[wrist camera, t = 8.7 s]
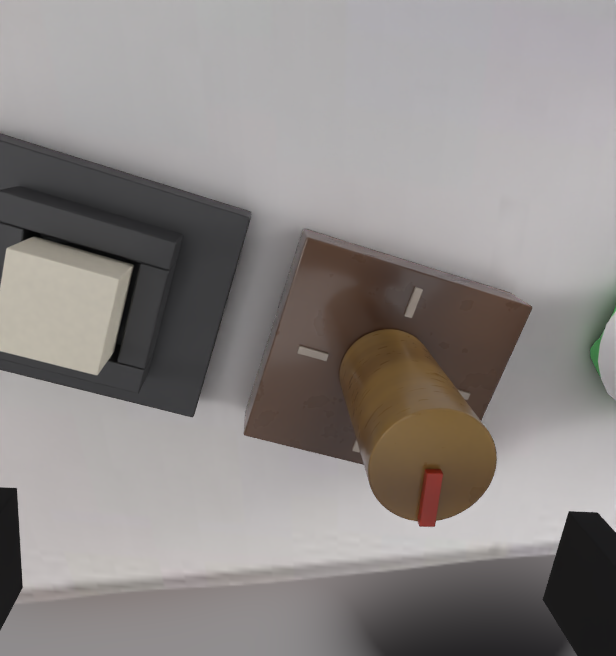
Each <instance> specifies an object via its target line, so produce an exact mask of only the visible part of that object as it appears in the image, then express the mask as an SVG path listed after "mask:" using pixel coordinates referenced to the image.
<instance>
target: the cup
mask: <svg viewBox="0 0 616 656" xmlns="http://www.w3.org/2000/svg"><path fill="white" fill-rule="evenodd" d="M590 358H591V360H592V362H593V364H594V366H595V368H596V370H597V372H598V374H599V376H600V378H601V380H602V382H603V384H604V386H605V388H606V391H607V393H608V394H609V395H610V396H611V397H612V398H614V399H615V400H616V307H615V309H614V312H613V314H612V316H611V318H610V320H609V321H608V323H607V324H606V327H605V330H604V331H603V333H602V335H601V336H600V338H599V339H598V340H596V342H595V343H594V344H593V346H592V347H591V348H590Z"/></svg>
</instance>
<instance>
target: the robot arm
mask: <svg viewBox="0 0 616 656" xmlns="http://www.w3.org/2000/svg"><path fill="white" fill-rule="evenodd" d="M22 588H23V587H22V569H21V552H20V535H19V517H18V500H17V488H1V487H0V630H1V628H2V626H3V624H4V622H5V620H6V618H7V616H8V615H9V613H10V611H11V609H12V607H13V605H14V603H15V601H16V599H17V597H18V595H19V593H20V592H21V590H22ZM543 601H544V602H545V604H546V605H547V607H548V608H549V610H550V612H551V614H552V615H553V617H554V619H555V620H556V622H557V623H558V625H559V627H560V628H561V630H562V631H563V633H564V635H565V636H566V638H567V640H568V641H569V643H570V644H571V646H572V647H573V649H574V651H575V652H576V654H577V656H616V532H615V531H614V530H613V529H612V528H611V527H610V526H609V525H608V524H607V523H606V521H605V520H604V519H603V518H602V517H601V516H600V515H599V514H598V513H595V512H571V511H569V513H568V516H567V519H566V523H565V526H564V530H563V533H562V536H561V540H560V543H559V546H558V550H557V553H556V557H555V560H554V563H553V567H552V570H551V574H550V577H549V580H548V584H547V587H546V590H545V594H544V597H543Z"/></svg>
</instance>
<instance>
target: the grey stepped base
mask: <svg viewBox="0 0 616 656" xmlns="http://www.w3.org/2000/svg"><path fill="white" fill-rule="evenodd" d="M250 218H251V212H250V211H247V210H244V209H240V208H237V207H234V206H231V205H228V204H224V203H221V202H218V201H215V200H212V199H208V198H205V197H202V196H199V195H196V194H192V193H189V192H186V191H183V190H180V189H176V188H173V187H170V186H167V185H164V184H160V183H157V182H154V181H151V180H148V179H144V178H141V177H138V176H135V175H132V174H128V173H125V172H122V171H119V170H115V169H112V168H109V167H106V166H103V165H99V164H96V163H93V162H90V161H87V160H83V159H80V158H77V157H74V156H71V155H67V154H64V153H61V152H58V151H55V150H51V149H48V148H45V147H42V146H39V145H35V144H32V143H29V142H26V141H23V140H19V139H16V138H13V137H10V136H7V135H3V134H0V285H1V279H2V273H3V266H4V260H5V254H6V249H7V248H8V247H10V246H13V245H15V244H17V243H19V242H22V241H24V240H26V239H29V238H31V237H33V236H35V237H39V238H42V239H46V240H49V241H53V242H56V243H60V244H63V245H67V246H70V247H74V248H77V249H81V250H84V251H88V252H91V253H95V254H98V255H102V256H105V257H109V258H112V259H116V260H119V261H123V262H126V263H130V264H133V265H134V268H133V272H132V277H131V281H130V285H129V290H128V294H127V298H126V303H125V307H124V311H123V316H122V320H121V324H120V329H119V333H118V337H117V342H116V346H115V350H114V353H113V354H112V355H111V357H110V358H109V360H108V361H107V363H106V364H105V365H104V367H103V368H102V370H101V371H100V372H99V374H98V375H93V374H89V373H85V372H81V371H77V370H73V369H69V368H65V367H61V366H57V365H53V364H49V363H45V362H41V361H38V360H34V359H30V358H26V357H22V356H18V355H14V354H10V353H6V352H2V351H0V370H3V371H7V372H11V373H15V374H19V375H24V376H28V377H32V378H36V379H40V380H44V381H48V382H52V383H56V384H60V385H64V386H68V387H72V388H76V389H80V390H84V391H88V392H92V393H96V394H100V395H104V396H108V397H112V398H117V399H121V400H125V401H129V402H133V403H137V404H141V405H145V406H149V407H153V408H157V409H161V410H165V411H169V412H173V413H177V414H181V415H185V416H189V417H193V416H194V414H195V410H196V407H197V403H198V400H199V396H200V393H201V389H202V386H203V382H204V379H205V375H206V372H207V368H208V365H209V361H210V358H211V354H212V351H213V347H214V344H215V340H216V337H217V333H218V330H219V326H220V323H221V319H222V316H223V312H224V309H225V305H226V302H227V299H228V295H229V292H230V288H231V285H232V281H233V278H234V274H235V271H236V267H237V264H238V260H239V257H240V253H241V250H242V246H243V243H244V239H245V236H246V232H247V229H248V225H249V222H250Z"/></svg>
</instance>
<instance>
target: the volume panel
mask: <svg viewBox="0 0 616 656" xmlns="http://www.w3.org/2000/svg"><path fill="white" fill-rule="evenodd" d="M531 310H532V306H530V305H529V304H527V303H526V302H524V301H523V300H521V299H519V298H518V297H516V296H515V295H513V294H512V293H510V292H506V291H503V290H500V289H497V288H494V287H490V286H487V285H484V284H481V283H478V282H474V281H471V280H468V279H465V278H462V277H458V276H455V275H452V274H449V273H445V272H442V271H439V270H436V269H433V268H429V267H426V266H423V265H420V264H417V263H413V262H410V261H407V260H404V259H401V258H397V257H394V256H391V255H388V254H385V253H381V252H378V251H375V250H372V249H369V248H365V247H362V246H359V245H356V244H353V243H349V242H346V241H343V240H340V239H337V238H333V237H330V236H327V235H324V234H320V233H317V232H314V231H311V230H308V229H303V230H302V234H301V237H300V240H299V243H298V246H297V249H296V253H295V256H294V259H293V262H292V265H291V268H290V272H289V275H288V278H287V281H286V284H285V287H284V291H283V294H282V297H281V300H280V303H279V306H278V310H277V313H276V316H275V319H274V322H273V325H272V329H271V332H270V335H269V338H268V341H267V344H266V348H265V351H264V354H263V357H262V360H261V363H260V367H259V370H258V373H257V376H256V379H255V382H254V386H253V389H252V392H251V395H250V398H249V401H248V405H247V408H246V411H245V424H244V435H245V436H250V437H254V438H258V439H262V440H266V441H270V442H274V443H278V444H282V445H286V446H290V447H294V448H298V449H302V450H306V451H311V452H315V453H319V454H323V455H327V456H331V457H335V458H339V459H343V460H347V461H351V462H355V463H359V464H363V465H364V463H363V460H362V456H361V453H360V450H359V446H358V443H357V440H356V436H355V433H354V429H353V426H352V423H351V419H350V416H349V413H348V409H347V406H346V402H345V399H344V396H343V392H342V389H341V385H340V380H339V372H340V366H341V363H342V360H343V358H344V355H345V354H346V352H347V351H348V349H349V348H350V347H351V346H352V345H353V344H354V343H355V342H356V341H357V340H359V339H360V338H361V337H363V336H365V335H367V334H369V333H371V332H375V331H378V330H384V329H393V330H400V331H404V332H406V333H409V334H411V335H413V336H414V337H416V338H417V339H418V340H419V341H420V342H421V343H422V344H423V345H424V346H425V347H426V349H427V350H428V351H429V353H430V354H431V355H432V357H433V358H434V359H435V361H436V362H437V363H438V365H439V366H440V367H441V369H442V370H443V371H444V373H445V374H446V375H447V377H448V378H449V379H450V381H451V382H452V383H453V385H454V386H455V387H456V389H457V390H458V391H459V393H460V394H461V395H462V397H463V398H464V399H465V401H466V402H467V403H468V405H469V406H470V407H471V409H472V410H473V411H474V413H475V414H476V415H477V417H478V418H479V419H480V421H481V420H482V417H483V415H484V413H485V411H486V409H487V406H488V404H489V402H490V400H491V398H492V395H493V393H494V391H495V389H496V387H497V384H498V382H499V380H500V378H501V376H502V373H503V371H504V369H505V367H506V365H507V363H508V360H509V358H510V356H511V354H512V352H513V349H514V347H515V345H516V343H517V341H518V338H519V336H520V334H521V332H522V330H523V327H524V325H525V323H526V321H527V319H528V316H529V314H530V312H531Z"/></svg>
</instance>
